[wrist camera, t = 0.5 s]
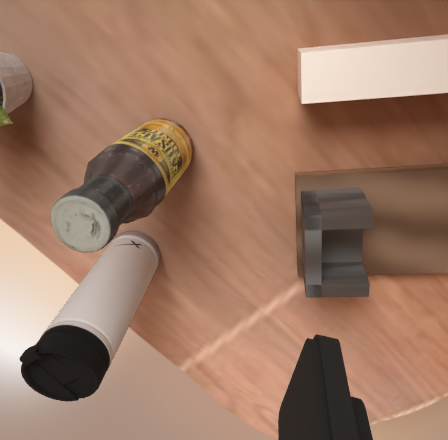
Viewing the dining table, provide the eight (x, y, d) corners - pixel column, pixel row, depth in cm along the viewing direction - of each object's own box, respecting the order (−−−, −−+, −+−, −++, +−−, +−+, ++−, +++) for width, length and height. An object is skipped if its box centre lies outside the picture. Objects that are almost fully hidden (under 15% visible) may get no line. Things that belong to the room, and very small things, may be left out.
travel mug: (137, 219, 47) (52, 338, 29) (170, 260, 49) (111, 396, 31) (98, 242, 49) (-2, 368, 31) (132, 282, 51) (56, 420, 33)
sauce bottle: (207, 144, 42) (158, 233, 25) (170, 184, 45) (101, 290, 27) (159, 100, 41) (69, 160, 23) (123, 143, 43) (18, 228, 26)
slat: (297, 93, 39) (301, 104, 34) (297, 48, 38) (300, 52, 32) (547, 73, 36) (595, 81, 31) (559, 23, 34) (611, 23, 29)
